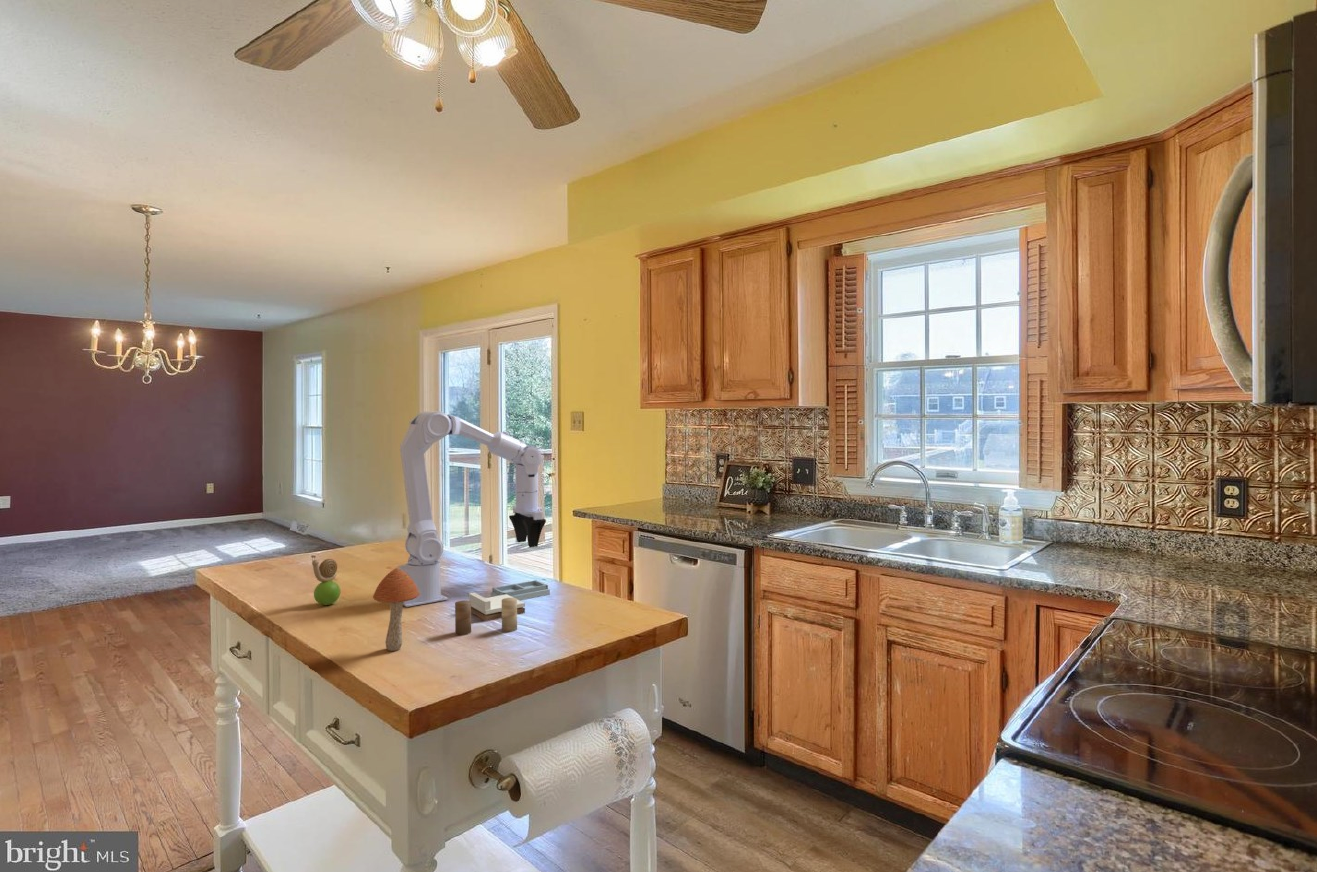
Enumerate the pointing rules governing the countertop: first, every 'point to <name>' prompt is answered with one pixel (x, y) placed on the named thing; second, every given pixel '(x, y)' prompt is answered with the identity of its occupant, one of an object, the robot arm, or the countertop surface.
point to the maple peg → (509, 614)
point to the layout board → (493, 614)
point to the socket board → (522, 590)
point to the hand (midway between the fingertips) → (527, 544)
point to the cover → (490, 603)
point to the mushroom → (395, 602)
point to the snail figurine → (326, 581)
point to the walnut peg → (463, 617)
